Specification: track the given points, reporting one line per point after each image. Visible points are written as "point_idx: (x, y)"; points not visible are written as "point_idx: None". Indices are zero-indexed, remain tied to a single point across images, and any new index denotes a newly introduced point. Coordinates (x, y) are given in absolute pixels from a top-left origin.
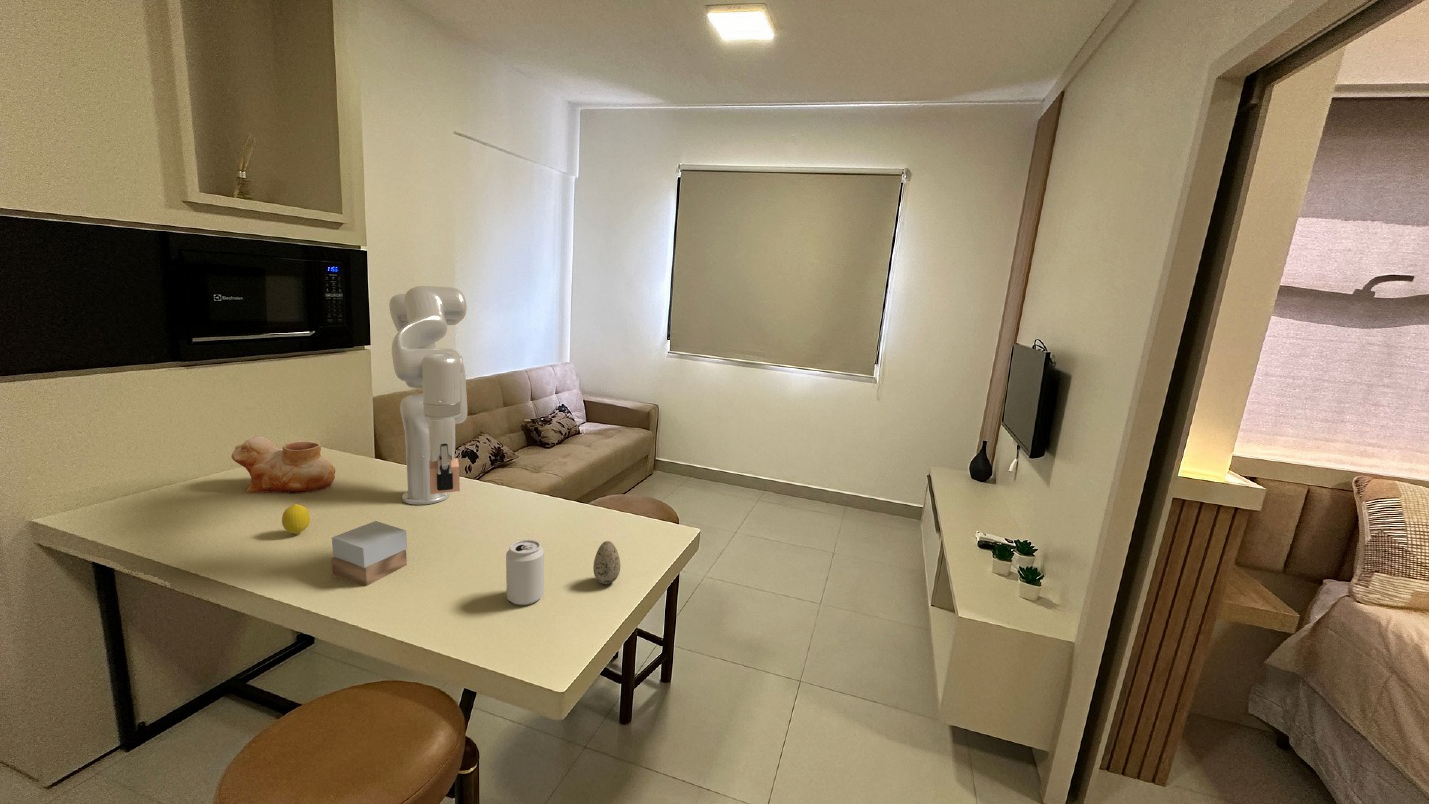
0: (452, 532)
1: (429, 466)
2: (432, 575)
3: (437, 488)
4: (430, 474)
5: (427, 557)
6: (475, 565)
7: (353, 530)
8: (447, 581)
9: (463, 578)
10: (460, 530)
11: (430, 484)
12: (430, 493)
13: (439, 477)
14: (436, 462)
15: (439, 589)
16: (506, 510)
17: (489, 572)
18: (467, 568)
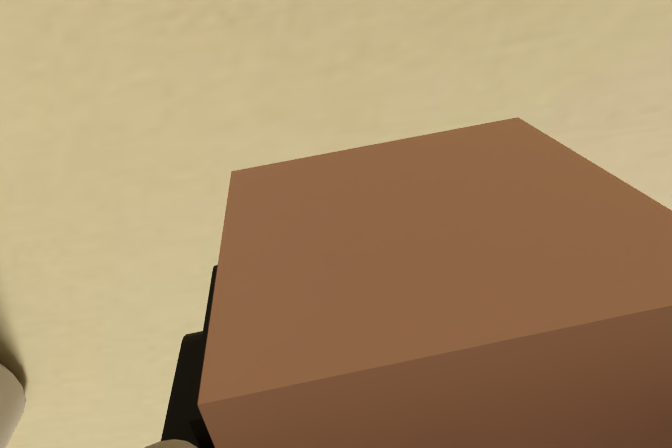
0: (537, 82)
1: (367, 368)
2: (130, 63)
3: (213, 274)
4: (210, 327)
5: (310, 10)
6: (208, 214)
7: None
8: (75, 133)
9: (100, 188)
10: (545, 113)
11: (223, 228)
12: (233, 173)
13: None
14: (585, 419)
15: (3, 112)
16: None
17: (146, 267)
18: (185, 190)
